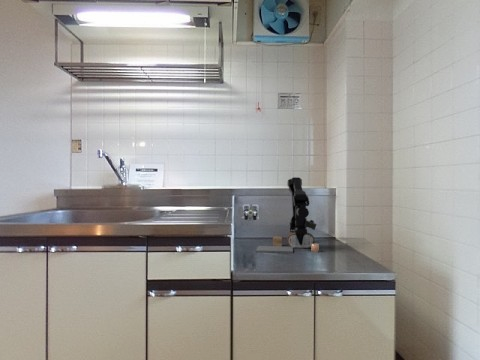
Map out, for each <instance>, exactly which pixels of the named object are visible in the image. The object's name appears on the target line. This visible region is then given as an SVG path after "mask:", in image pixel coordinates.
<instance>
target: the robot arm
mask: <svg viewBox="0 0 480 360" xmlns="http://www.w3.org/2000/svg"><path fill="white" fill-rule="evenodd" d="M286 183H287V184H286V185H287V187H288V191H289V192H290V194H291V209H292V210H291V211H292V217H291V218H290V220H289V221H290V222H289V225H288V232H289V234H291V233H295V234H296V236H297V239H298V241H299V244H300V245H302V242H303V237H304V235H305V234H307V233H308V228H309V229H311V230H313V231H315V229H316V227H317V223H315V222H314V220H313V219H310V220H308V219H307V217H309V214H310V211H309V209H308V208H307V207H309V205H310V199H309V196H308V195H307V193H306V191H304V190H303V187H302V186H303V179H301V177H292V178H289V179H288V180H287V182H286Z"/></svg>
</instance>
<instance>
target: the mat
mask: <svg viewBox="0 0 480 360" xmlns="http://www.w3.org/2000/svg"><path fill="white" fill-rule="evenodd" d="M255 253H271V254H274V253H275V254H293V253H294V248H293V247H290V246H285V245H282V246H273V245H272V246H270V245H258V246H257V247H256V250H255Z"/></svg>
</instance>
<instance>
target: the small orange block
mask: <svg viewBox="0 0 480 360" xmlns="http://www.w3.org/2000/svg"><path fill="white" fill-rule="evenodd" d="M310 252H311V253H319V252H320V244H319V243H315V242H314V243H312V244H311V248H310Z"/></svg>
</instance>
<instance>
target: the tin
mask: <svg viewBox="0 0 480 360" xmlns="http://www.w3.org/2000/svg"><path fill="white" fill-rule="evenodd" d="M286 242H287V246H288V247H293V249H311V244H312V243H315V237H314V235H313V234H312V233H310V232H307V234H305V235H304V237H303V242H302V245H300V244H299V241H298V239H297V236H296V234H295V233H292V232H291V233H289V234H288V235H287V238H286Z"/></svg>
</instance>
